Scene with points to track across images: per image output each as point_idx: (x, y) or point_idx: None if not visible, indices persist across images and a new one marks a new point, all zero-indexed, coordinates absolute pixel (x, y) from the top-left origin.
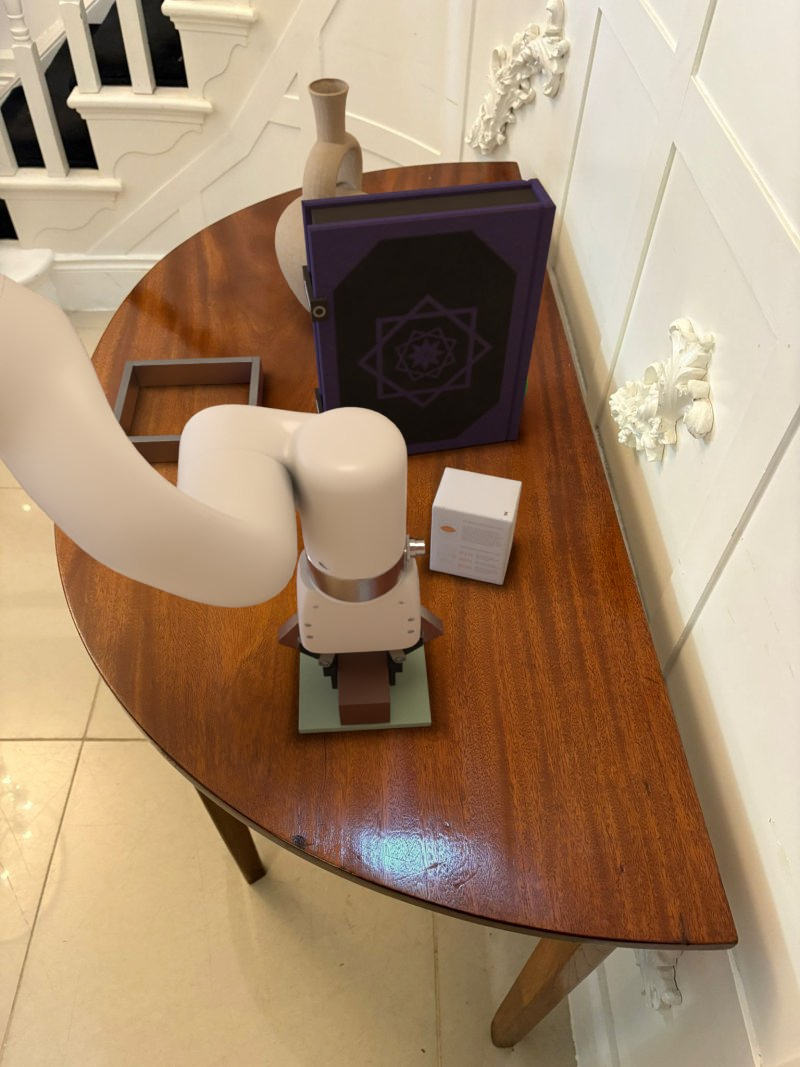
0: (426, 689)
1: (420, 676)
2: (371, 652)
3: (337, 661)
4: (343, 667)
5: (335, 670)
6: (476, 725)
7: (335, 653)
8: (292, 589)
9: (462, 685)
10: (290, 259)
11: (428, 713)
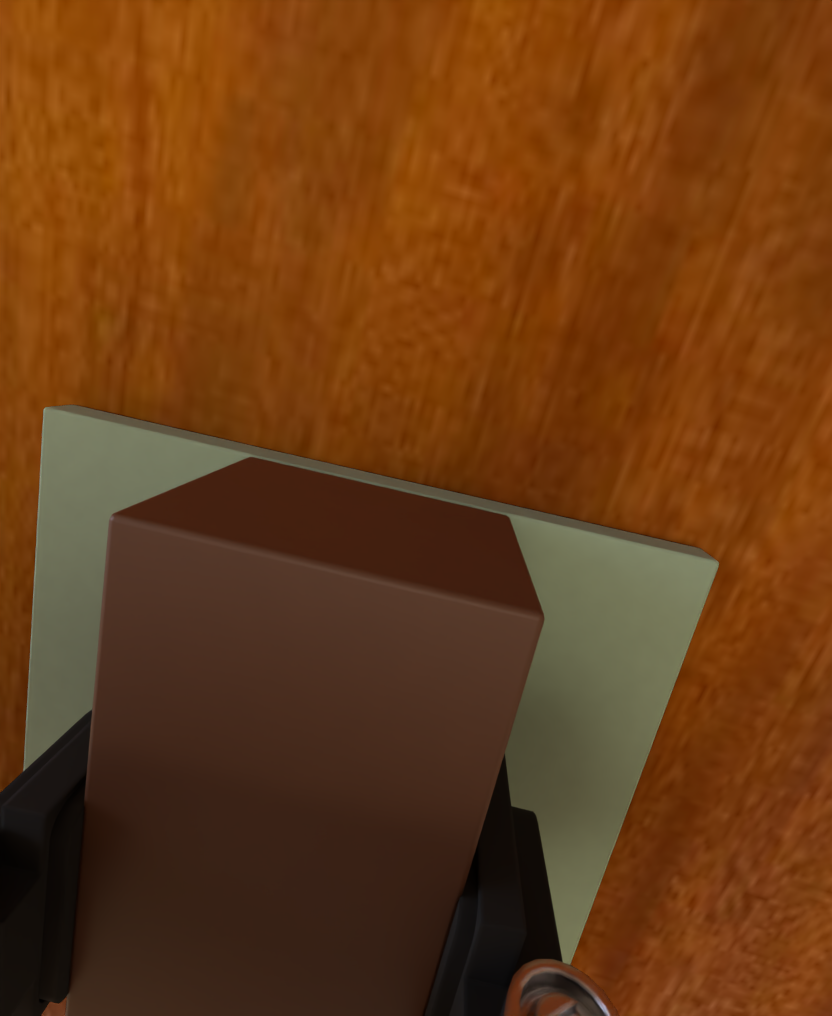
0: (598, 872)
1: (597, 807)
2: (320, 960)
3: (55, 977)
4: (105, 996)
5: (44, 1008)
6: (731, 1004)
7: (44, 922)
8: (39, 14)
9: (762, 850)
10: None
11: (563, 961)
